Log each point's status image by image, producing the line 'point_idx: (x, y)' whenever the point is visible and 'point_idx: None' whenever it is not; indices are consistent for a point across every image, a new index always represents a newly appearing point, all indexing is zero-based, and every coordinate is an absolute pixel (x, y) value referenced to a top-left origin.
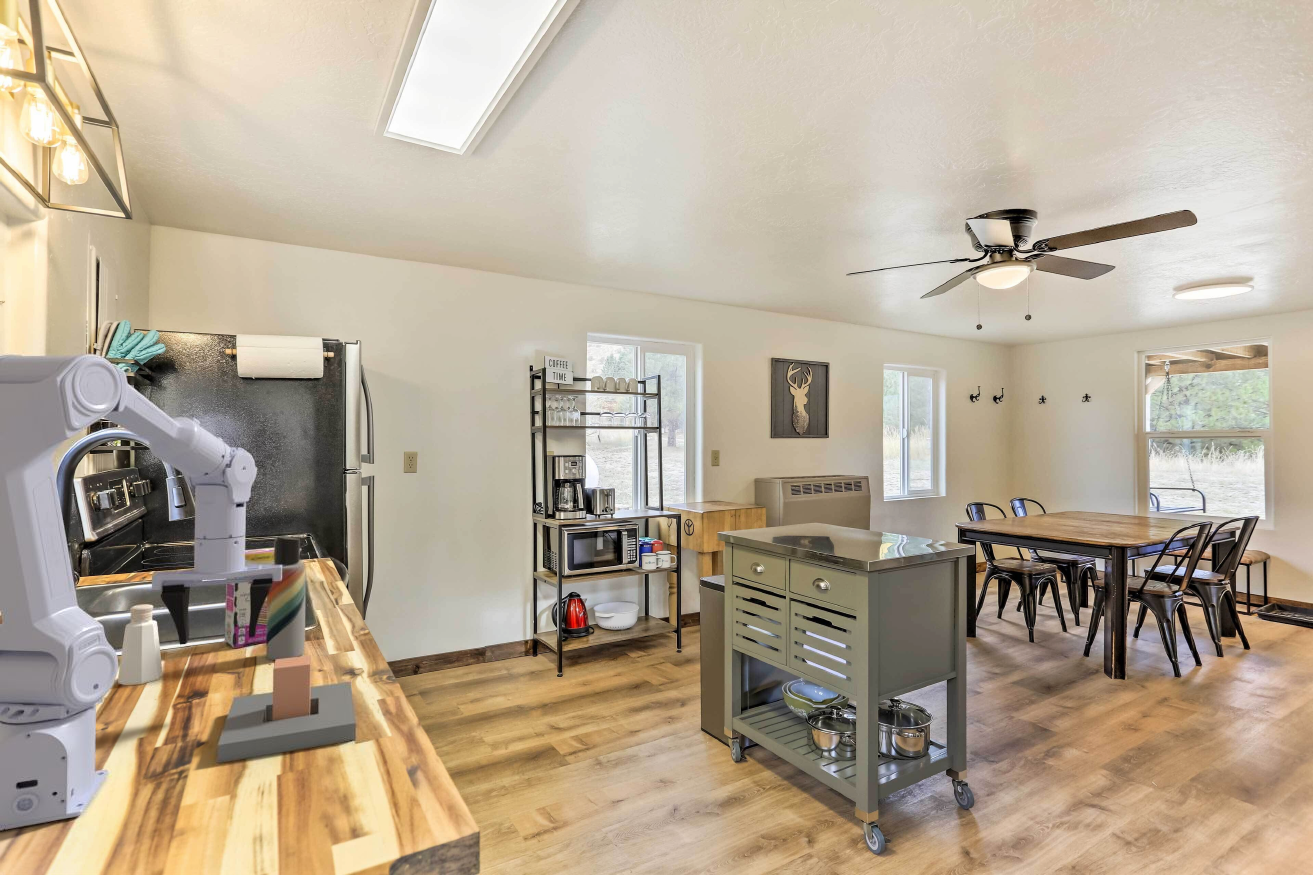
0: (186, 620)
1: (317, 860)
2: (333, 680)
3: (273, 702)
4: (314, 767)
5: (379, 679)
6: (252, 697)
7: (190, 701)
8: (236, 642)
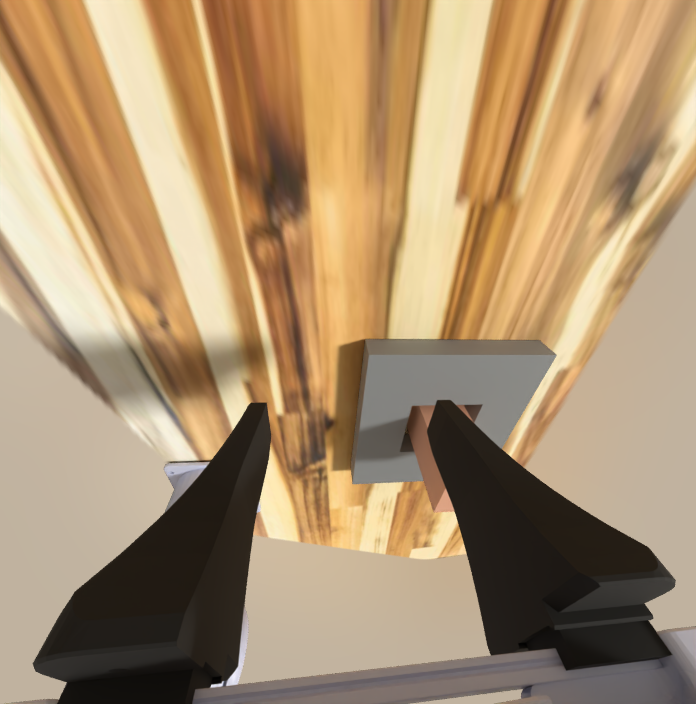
0: (252, 481)
1: (402, 554)
2: (567, 230)
3: (418, 462)
4: (426, 490)
5: (631, 272)
6: (397, 367)
7: (278, 232)
8: None
